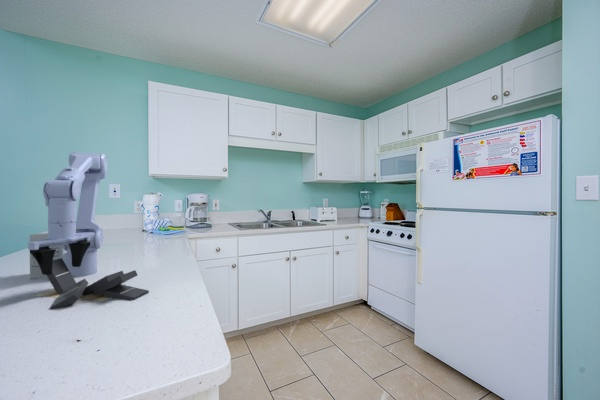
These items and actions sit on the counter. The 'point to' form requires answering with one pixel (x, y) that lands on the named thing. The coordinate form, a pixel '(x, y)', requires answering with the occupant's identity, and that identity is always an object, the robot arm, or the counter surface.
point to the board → (89, 296)
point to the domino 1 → (60, 276)
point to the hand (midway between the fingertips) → (62, 270)
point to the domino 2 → (70, 294)
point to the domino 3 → (101, 282)
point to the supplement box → (34, 266)
